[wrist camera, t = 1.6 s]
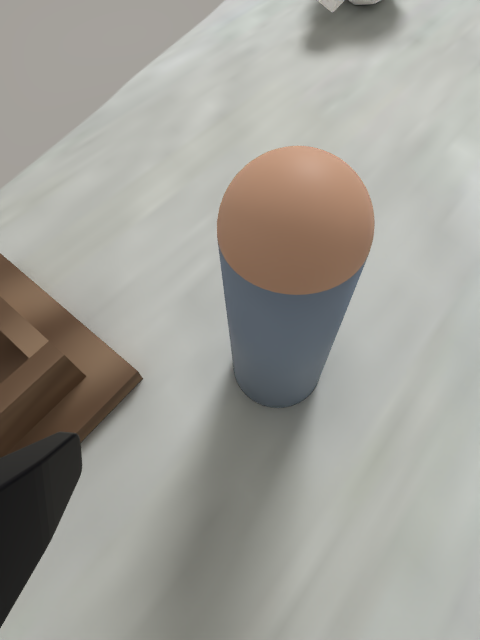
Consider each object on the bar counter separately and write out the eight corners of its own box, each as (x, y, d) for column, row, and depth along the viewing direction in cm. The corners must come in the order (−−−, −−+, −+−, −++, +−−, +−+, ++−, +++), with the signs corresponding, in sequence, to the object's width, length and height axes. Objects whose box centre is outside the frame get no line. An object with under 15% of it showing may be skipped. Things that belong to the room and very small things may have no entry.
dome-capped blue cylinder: (337, 359, 24) (429, 156, 11) (285, 426, 23) (325, 276, 10) (269, 312, 26) (282, 88, 13) (216, 371, 24) (171, 180, 11)
